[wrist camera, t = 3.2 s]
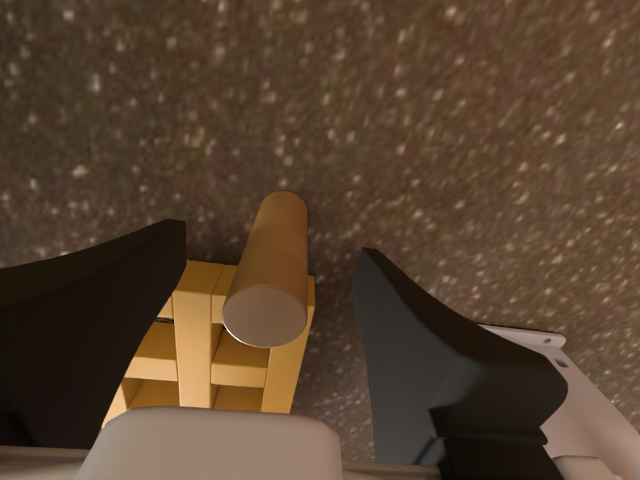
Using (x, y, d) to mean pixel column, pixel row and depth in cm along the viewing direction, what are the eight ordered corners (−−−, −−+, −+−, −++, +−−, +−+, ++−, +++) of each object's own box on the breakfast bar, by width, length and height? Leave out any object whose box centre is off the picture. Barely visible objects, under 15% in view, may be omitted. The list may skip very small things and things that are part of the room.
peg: (311, 194, 15) (314, 291, 8) (303, 236, 16) (300, 352, 9) (262, 186, 15) (221, 279, 8) (257, 230, 16) (220, 344, 9)
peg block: (314, 275, 18) (315, 306, 15) (279, 433, 26) (276, 469, 24) (91, 246, 16) (53, 275, 14) (131, 424, 25) (112, 462, 22)
